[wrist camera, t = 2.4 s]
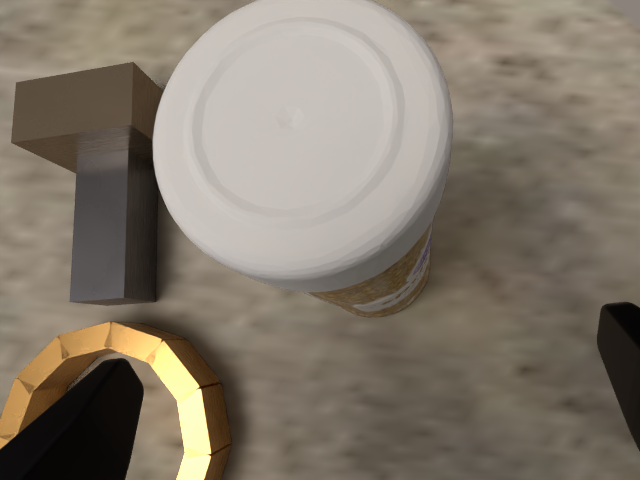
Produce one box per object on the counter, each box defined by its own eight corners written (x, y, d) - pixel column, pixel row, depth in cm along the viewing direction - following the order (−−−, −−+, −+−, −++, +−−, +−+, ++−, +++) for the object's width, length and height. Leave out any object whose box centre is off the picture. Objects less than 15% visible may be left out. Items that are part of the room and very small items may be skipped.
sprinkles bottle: (431, 318, 19) (461, 281, 6) (317, 316, 20) (124, 279, 7) (429, 205, 20) (452, -46, 7) (320, 208, 21) (153, -9, 8)
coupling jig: (393, 328, 19) (386, 326, 15) (-61, 770, 19) (-196, 893, 15) (145, 70, 24) (86, 13, 19) (-218, 427, 24) (-355, 447, 20)
